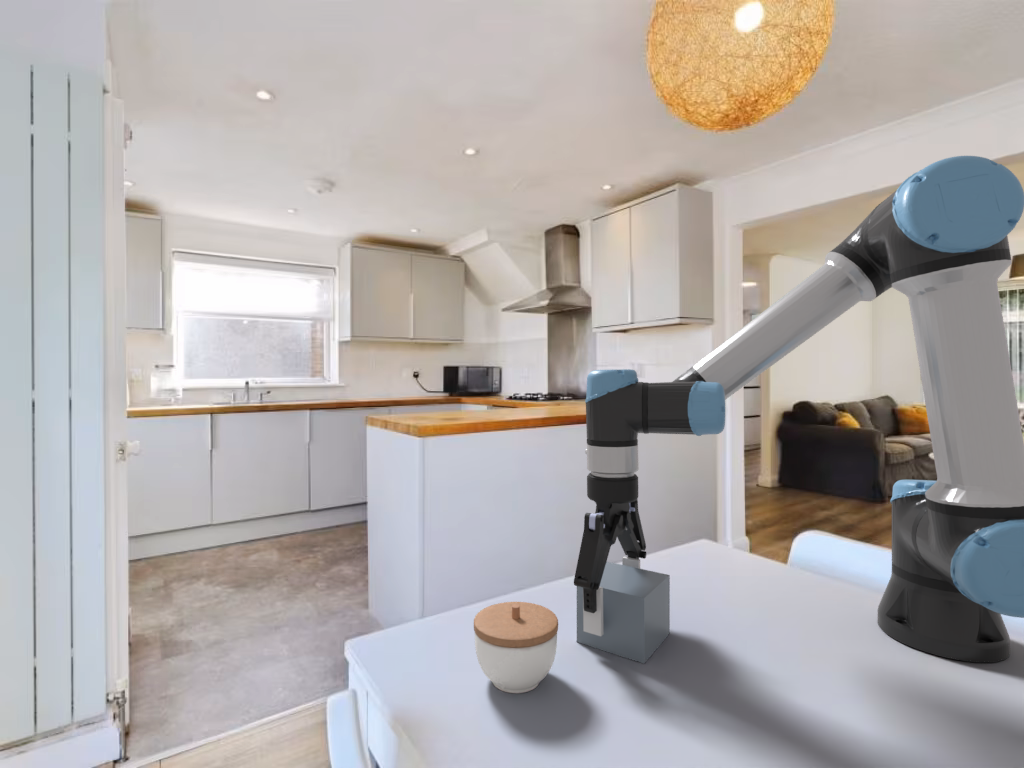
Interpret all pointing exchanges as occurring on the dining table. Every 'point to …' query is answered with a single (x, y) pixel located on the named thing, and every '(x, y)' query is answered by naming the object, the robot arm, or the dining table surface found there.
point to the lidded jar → (515, 644)
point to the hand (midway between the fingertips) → (613, 615)
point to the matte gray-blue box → (630, 612)
